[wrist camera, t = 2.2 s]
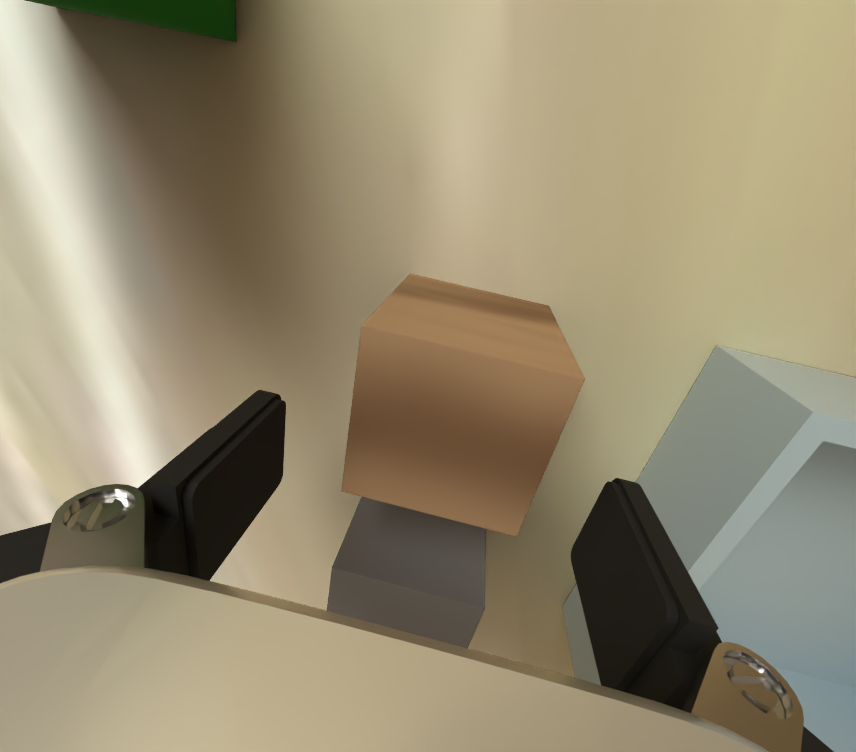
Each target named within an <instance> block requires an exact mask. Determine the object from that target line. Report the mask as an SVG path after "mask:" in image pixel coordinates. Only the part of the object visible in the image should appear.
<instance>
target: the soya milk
mask: <svg viewBox="0 0 856 752" xmlns="http://www.w3.org/2000/svg"><path fill="white" fill-rule="evenodd" d="M26 1H31V2H35V3H40V4H45V5H49V6H54V7H59V8H64V9H69V10H74V11H79V12H84V13H89V14H95V15H100V16H105V17H110V18H115V19H120V20H125V21H131V22H136V23H141V24H146V25H151V26H157V27H162V28H167V29H172V30H178V31H183V32H188V33H193V34H199V35H204V36H209V37H214V38H219V39H224V40H229V41H234V42H236V19H235V0H26Z"/></svg>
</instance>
